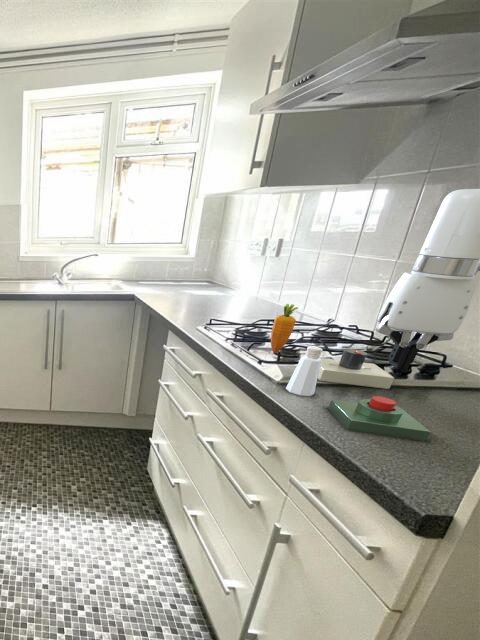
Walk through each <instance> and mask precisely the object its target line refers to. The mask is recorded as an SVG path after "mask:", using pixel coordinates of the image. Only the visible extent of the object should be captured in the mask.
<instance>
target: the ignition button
mask: <svg viewBox="0 0 480 640" xmlns="http://www.w3.org/2000/svg"><path fill="white" fill-rule="evenodd" d="M370 399H371V400H370V402H369V406H371V407H373V408H376V409H380V410H384V411H393V409H394V407H395V406H397V402H396V401H395V400H393V399H391V398H388V397H384V396H378V395H375V396H371V398H370Z"/></svg>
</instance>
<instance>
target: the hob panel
mask: <svg viewBox="0 0 480 640" xmlns="http://www.w3.org/2000/svg"><path fill="white" fill-rule="evenodd" d="M319 359H321V360H322V361H321V366H320V370H319V375H318V379H317V380H318V381H321V382H328V383H336V384H345V385H353V386H360V387H370V388H377V389H385V390H390V388H391V386H392V384H393V382H394V380H395V377H394V376H392V375H391V374H390V373H388V372H387V371H386V370H384V369H382V368H381V367H379V366H378V365H377V364H375V363H370V362H364V363H363V365H362V368H361V369H359V370H355V369H348V368H344V367H342V366H340V365H339V362H340V359H333V358H325V357H324V358H323V357H319Z"/></svg>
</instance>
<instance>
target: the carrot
mask: <svg viewBox="0 0 480 640" xmlns="http://www.w3.org/2000/svg"><path fill="white" fill-rule="evenodd" d="M298 309H299V307H298V306H295V304H293V303H292V304H290V303H286V304H285V305H284V306H283V314H280V315H277V316H275V318H274V321H273V324H272V328H271V332H270V333H271V334H270V348H271V351H272V353H273V354H277V353H279V352H280V351H281V350H282V349H283V347H284V346H285V345H286V344H287V342H288V341H289V339H290V337H291V335H292V333H293V330H294V327H295V325H296V321H297V320H296V318H295V317H294V316H292V314H293V313H294V311H295V310H298Z"/></svg>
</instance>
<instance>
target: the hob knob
mask: <svg viewBox="0 0 480 640" xmlns="http://www.w3.org/2000/svg"><path fill="white" fill-rule="evenodd" d="M367 355H368V353H367V352H366V351H363V350H360V349H355V348H344V349H343V352H342V354H341V357H340V359H339V360H340V362H339V365H340V366H342V367H344V368H348V369H355V370H359V369H361V368H362V365H363V363H365V360H366V359H367Z"/></svg>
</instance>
